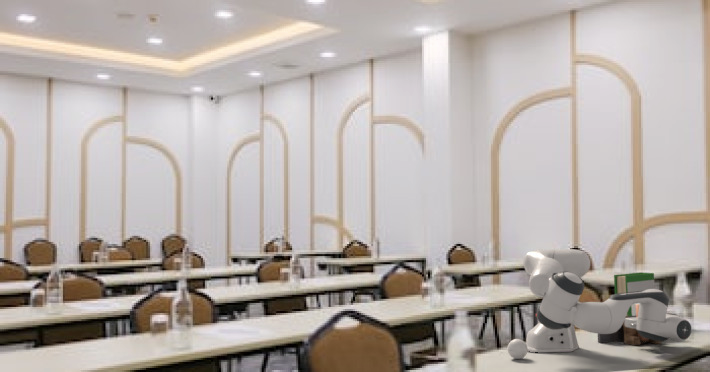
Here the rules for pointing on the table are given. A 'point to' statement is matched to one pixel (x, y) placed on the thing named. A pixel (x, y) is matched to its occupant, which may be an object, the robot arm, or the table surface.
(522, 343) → the seamed sphere
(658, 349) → the table surface
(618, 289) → the hardback book
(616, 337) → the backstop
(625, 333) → the notch block
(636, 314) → the dowel
